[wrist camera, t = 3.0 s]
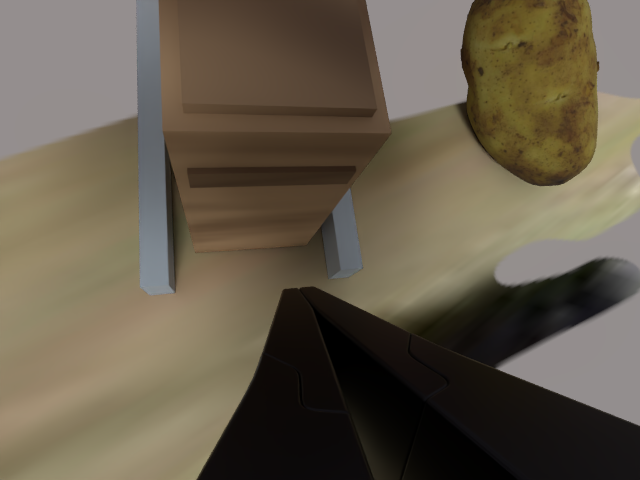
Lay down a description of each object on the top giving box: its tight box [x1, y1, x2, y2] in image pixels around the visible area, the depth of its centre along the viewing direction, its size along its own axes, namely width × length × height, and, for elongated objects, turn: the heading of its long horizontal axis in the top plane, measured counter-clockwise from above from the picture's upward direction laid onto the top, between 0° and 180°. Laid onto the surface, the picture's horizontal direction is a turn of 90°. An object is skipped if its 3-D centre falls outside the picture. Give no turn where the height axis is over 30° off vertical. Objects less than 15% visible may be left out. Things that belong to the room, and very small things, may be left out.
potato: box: [461, 0, 599, 186], centre depth 25 cm, size 8×13×8 cm, turn 4°
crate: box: [159, 0, 391, 253], centre depth 16 cm, size 7×6×12 cm
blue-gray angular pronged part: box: [136, 0, 363, 295], centre depth 20 cm, size 18×11×7 cm, turn 7°
